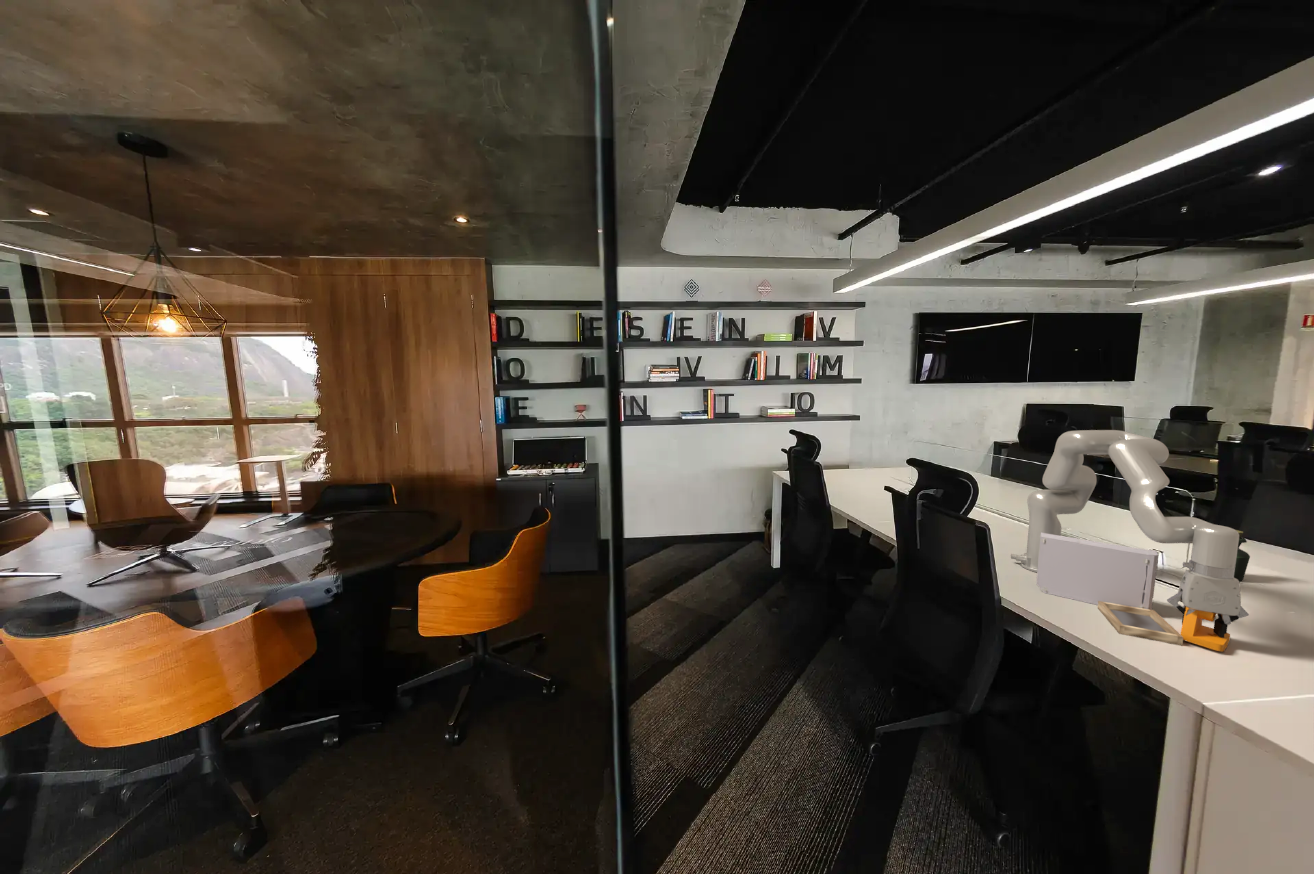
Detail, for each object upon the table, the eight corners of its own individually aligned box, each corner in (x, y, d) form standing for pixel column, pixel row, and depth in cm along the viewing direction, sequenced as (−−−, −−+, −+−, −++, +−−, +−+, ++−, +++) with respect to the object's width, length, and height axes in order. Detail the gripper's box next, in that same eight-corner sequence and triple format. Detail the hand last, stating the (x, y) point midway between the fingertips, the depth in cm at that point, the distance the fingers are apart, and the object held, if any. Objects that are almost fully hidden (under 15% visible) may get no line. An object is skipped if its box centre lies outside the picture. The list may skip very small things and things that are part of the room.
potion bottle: (1227, 573, 163) (1233, 527, 161) (1254, 583, 155) (1261, 534, 153) (1203, 573, 164) (1209, 527, 162) (1228, 582, 156) (1235, 534, 154)
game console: (1152, 618, 134) (1159, 556, 131) (1035, 591, 152) (1040, 536, 150) (1149, 610, 138) (1156, 550, 136) (1036, 585, 156) (1040, 532, 154)
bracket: (1221, 655, 115) (1227, 612, 114) (1179, 641, 121) (1184, 601, 120) (1229, 642, 121) (1235, 601, 119) (1188, 630, 127) (1194, 591, 125)
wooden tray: (1119, 633, 126) (1119, 625, 125) (1097, 608, 140) (1098, 600, 140) (1182, 645, 119) (1183, 637, 119) (1153, 617, 134) (1154, 610, 133)
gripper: (1173, 568, 120) (1165, 630, 122) (1269, 581, 111) (1260, 648, 113) (1159, 559, 126) (1152, 618, 128) (1250, 571, 118) (1241, 633, 120)
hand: (1203, 631), depth 121 cm, fingers closed on bracket, 5 cm apart
